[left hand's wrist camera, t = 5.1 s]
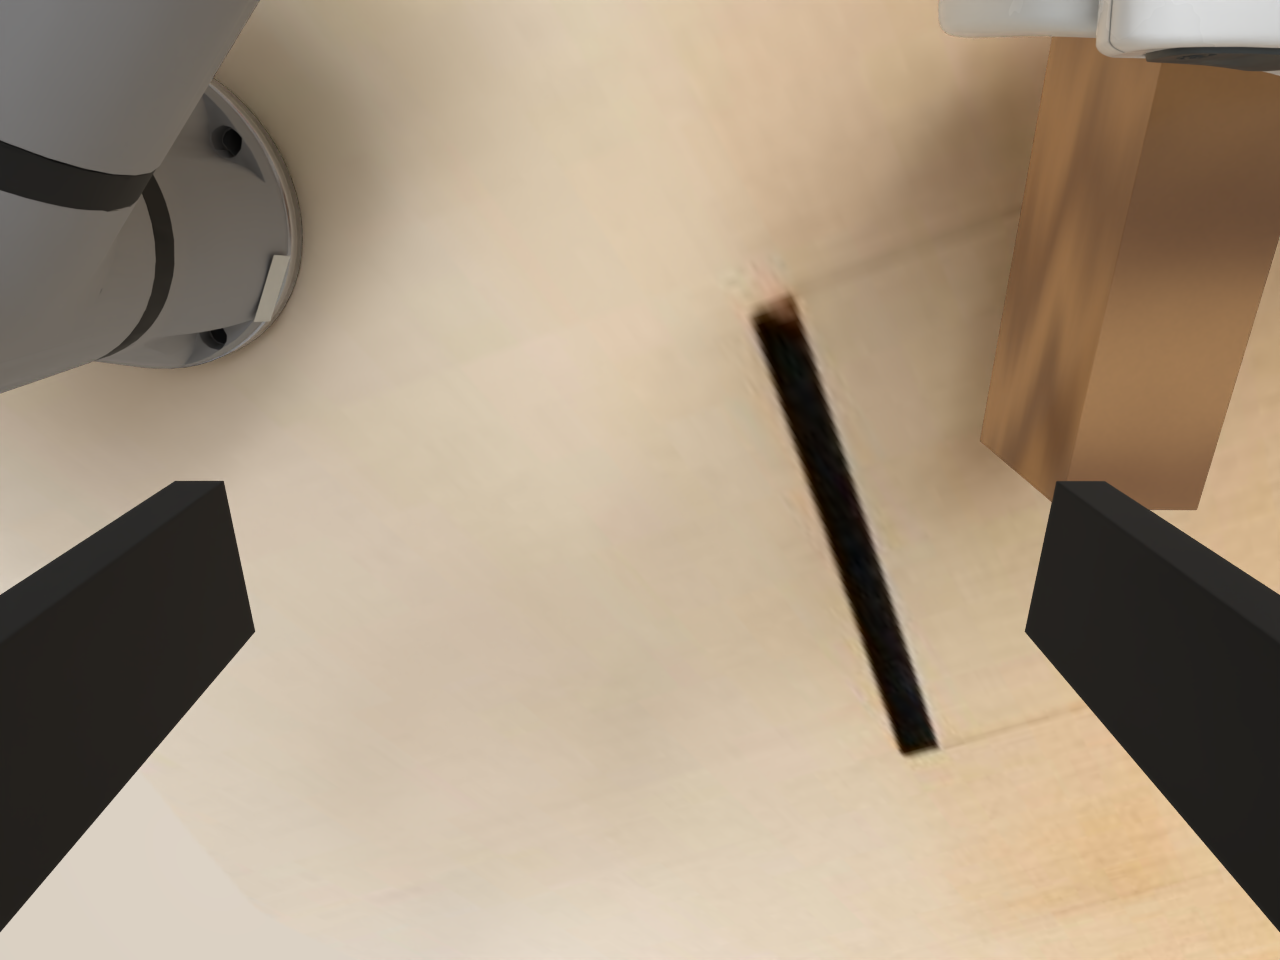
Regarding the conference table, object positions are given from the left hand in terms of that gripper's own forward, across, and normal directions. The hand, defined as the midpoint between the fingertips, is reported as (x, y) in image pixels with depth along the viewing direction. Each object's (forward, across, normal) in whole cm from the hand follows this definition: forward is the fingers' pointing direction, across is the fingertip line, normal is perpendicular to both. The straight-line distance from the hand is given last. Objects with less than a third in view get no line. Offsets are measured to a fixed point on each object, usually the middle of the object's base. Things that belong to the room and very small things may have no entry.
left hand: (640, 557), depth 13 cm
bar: (+25, -19, -5) cm, 32 cm away
